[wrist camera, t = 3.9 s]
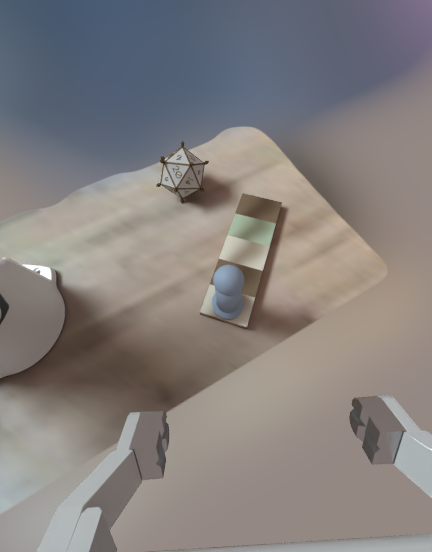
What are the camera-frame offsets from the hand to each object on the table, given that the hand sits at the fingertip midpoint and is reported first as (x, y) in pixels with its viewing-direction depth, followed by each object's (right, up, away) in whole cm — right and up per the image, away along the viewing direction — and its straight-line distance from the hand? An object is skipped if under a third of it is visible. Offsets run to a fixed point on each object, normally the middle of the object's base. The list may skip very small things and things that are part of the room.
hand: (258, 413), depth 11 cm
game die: (-7, +22, +35) cm, 42 cm away
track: (+3, +9, +30) cm, 31 cm away
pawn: (0, +2, +25) cm, 25 cm away
